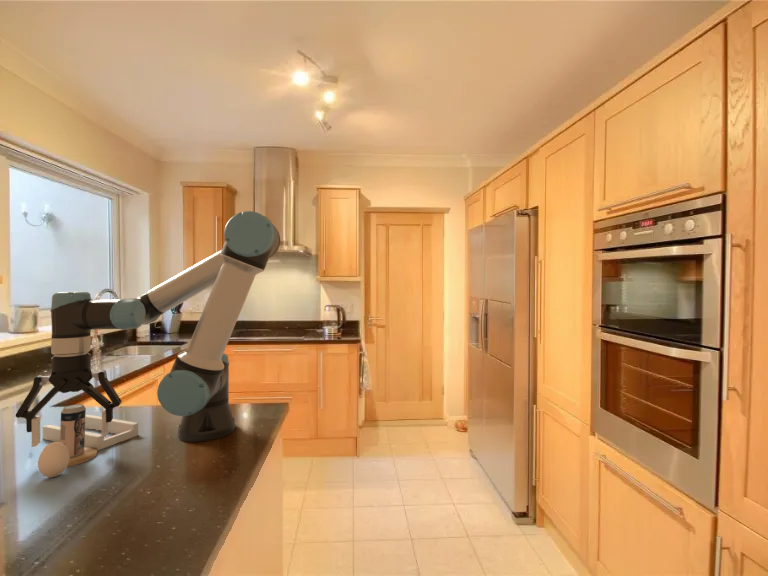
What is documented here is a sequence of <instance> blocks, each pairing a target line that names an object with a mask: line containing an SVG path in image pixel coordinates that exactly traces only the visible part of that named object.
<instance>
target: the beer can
mask: <svg viewBox="0 0 768 576" xmlns="http://www.w3.org/2000/svg"><path fill="white" fill-rule="evenodd" d="M86 413H87V412H86V406H85V405H84V404H83V403H82V404H81V403H80V404H71V405H66V406H64V407H63V408H62V410H61V411H60V425H59V427H60V442H61V443H63V444H64V445H65V446H66V447H67V449H68V451H69V456H70V458H73V457H76V456H79V455H81V454H82V453H83V452H84V443H85V432H86V428H85V415H86Z"/></svg>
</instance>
